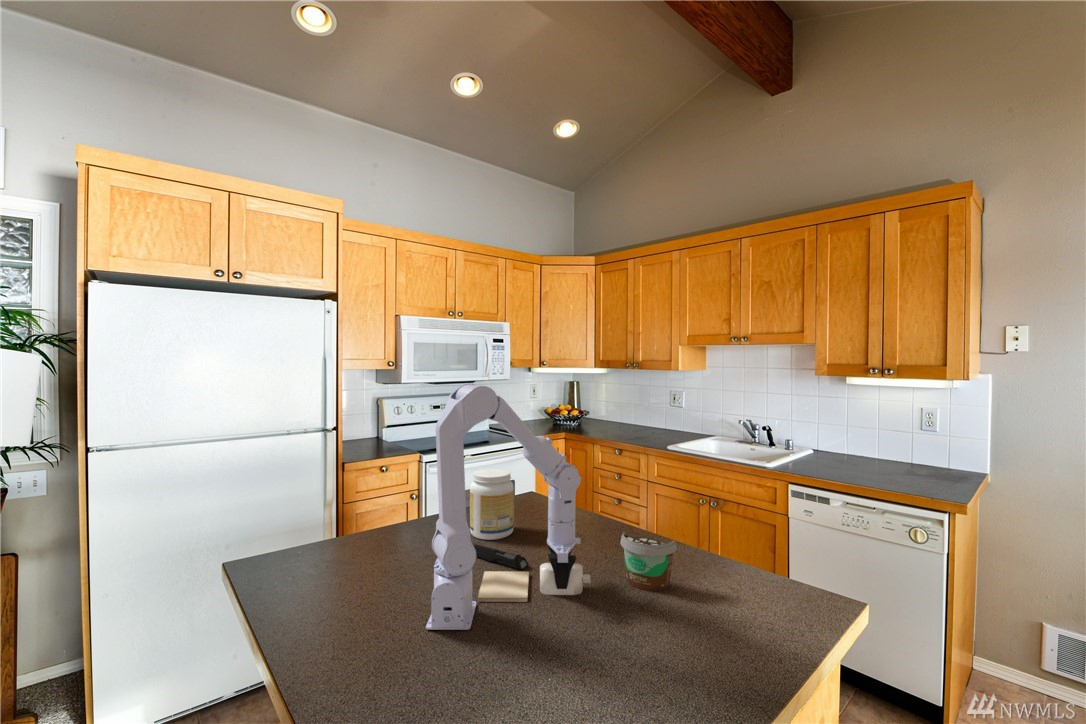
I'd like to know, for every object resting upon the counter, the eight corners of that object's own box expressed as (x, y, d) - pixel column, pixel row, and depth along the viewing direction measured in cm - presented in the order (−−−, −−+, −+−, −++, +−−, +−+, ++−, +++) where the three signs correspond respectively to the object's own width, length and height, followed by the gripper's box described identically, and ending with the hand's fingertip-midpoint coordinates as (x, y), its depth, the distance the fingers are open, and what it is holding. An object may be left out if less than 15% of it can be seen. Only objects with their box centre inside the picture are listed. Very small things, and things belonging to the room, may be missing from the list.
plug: (589, 585, 105) (589, 562, 105) (590, 595, 101) (591, 571, 101) (539, 585, 105) (540, 562, 105) (539, 594, 101) (539, 570, 101)
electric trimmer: (479, 553, 124) (479, 541, 123) (529, 567, 115) (529, 554, 115) (469, 558, 120) (469, 545, 120) (520, 573, 112) (520, 559, 112)
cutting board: (527, 601, 98) (527, 597, 98) (477, 601, 98) (477, 597, 98) (528, 575, 110) (528, 571, 110) (484, 574, 110) (484, 571, 110)
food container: (612, 585, 106) (612, 539, 105) (621, 574, 111) (621, 530, 111) (669, 599, 100) (670, 550, 100) (676, 586, 105) (676, 540, 105)
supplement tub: (522, 530, 138) (522, 471, 138) (495, 544, 128) (496, 480, 128) (488, 522, 145) (488, 465, 145) (460, 535, 134) (460, 474, 134)
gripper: (583, 530, 96) (583, 599, 96) (578, 507, 110) (577, 567, 111) (547, 530, 96) (547, 599, 96) (546, 507, 110) (546, 567, 111)
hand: (561, 582), depth 103 cm, fingers open, 4 cm apart
